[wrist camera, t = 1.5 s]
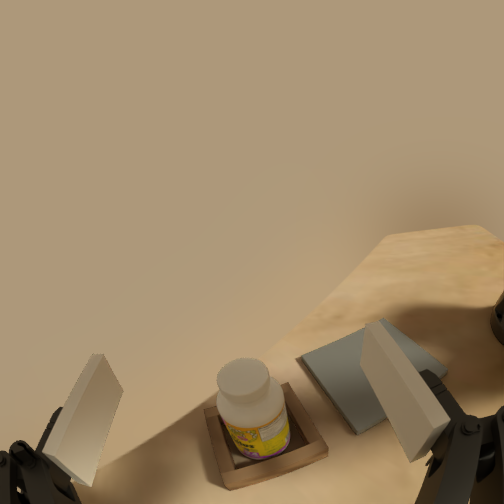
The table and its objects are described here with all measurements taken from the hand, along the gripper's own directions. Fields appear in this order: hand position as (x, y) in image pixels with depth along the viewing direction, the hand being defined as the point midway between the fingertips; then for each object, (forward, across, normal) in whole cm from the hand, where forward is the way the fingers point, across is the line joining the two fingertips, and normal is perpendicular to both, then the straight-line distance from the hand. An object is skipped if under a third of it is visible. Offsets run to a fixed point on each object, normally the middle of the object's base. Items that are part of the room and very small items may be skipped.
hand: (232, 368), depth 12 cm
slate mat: (+15, +17, -20) cm, 30 cm away
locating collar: (+8, 0, -21) cm, 23 cm away
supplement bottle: (+8, 0, -22) cm, 23 cm away
